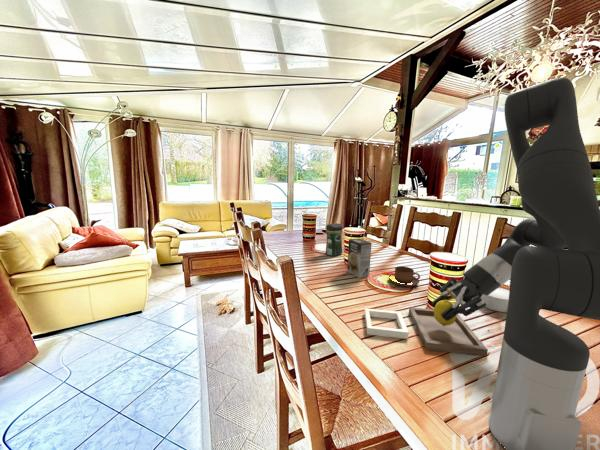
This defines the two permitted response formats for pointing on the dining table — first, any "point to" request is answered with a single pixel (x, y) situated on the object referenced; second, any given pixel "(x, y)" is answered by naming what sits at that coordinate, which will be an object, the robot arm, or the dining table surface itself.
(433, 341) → the walnut tray
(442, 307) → the lemon
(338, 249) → the coffee jar
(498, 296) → the ramekin
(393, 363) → the dining table surface
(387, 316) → the holder frame
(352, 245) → the coffee box
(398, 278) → the cup and saucer
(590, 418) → the dining table surface
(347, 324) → the dining table surface
